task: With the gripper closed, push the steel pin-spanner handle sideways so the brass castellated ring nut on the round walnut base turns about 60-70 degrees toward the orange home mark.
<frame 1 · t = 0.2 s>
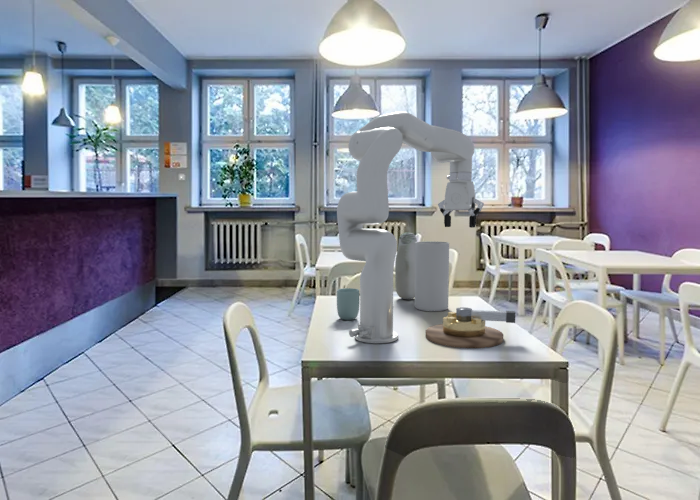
hand: (459, 227, 166), 31 cm above the table, tool pointing down, fingers open, 9 cm apart
ring nut: (478, 320, 136), point 5 cm above the table, hinge at 0.0°
cup: (348, 319, 161), on the table
glass bottle: (407, 299, 197), on the table
spanner base: (463, 337, 137), on the table
cylinder vase: (431, 309, 178), on the table
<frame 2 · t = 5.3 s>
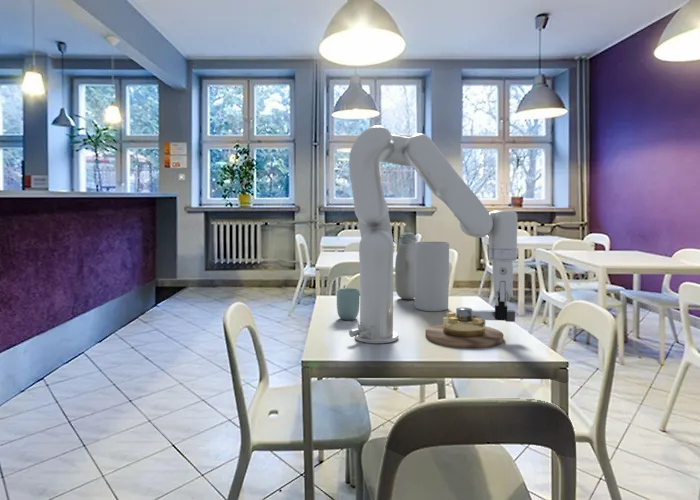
hand: (500, 319, 133), 6 cm above the table, tool pointing down, fingers closed
ring nut: (478, 320, 136), point 5 cm above the table, hinge at 6.1°, touching gripper
everything else where it was.
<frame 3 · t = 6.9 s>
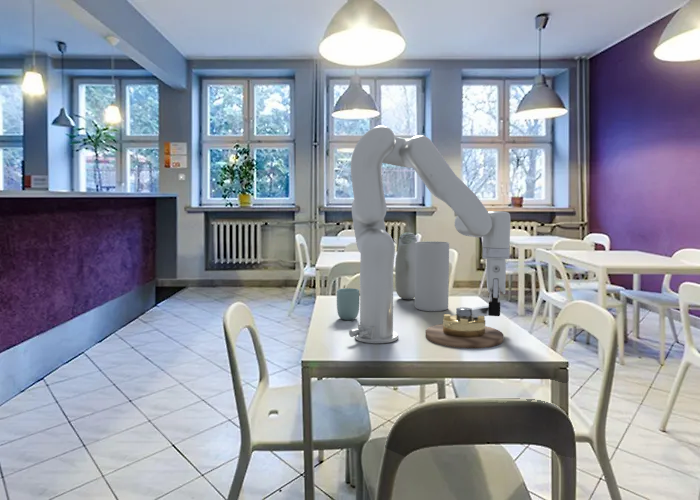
hand: (494, 315, 139), 6 cm above the table, tool pointing down, fingers closed
ring nut: (473, 318, 139), point 5 cm above the table, hinge at 45.5°, touching gripper
everything else where it was.
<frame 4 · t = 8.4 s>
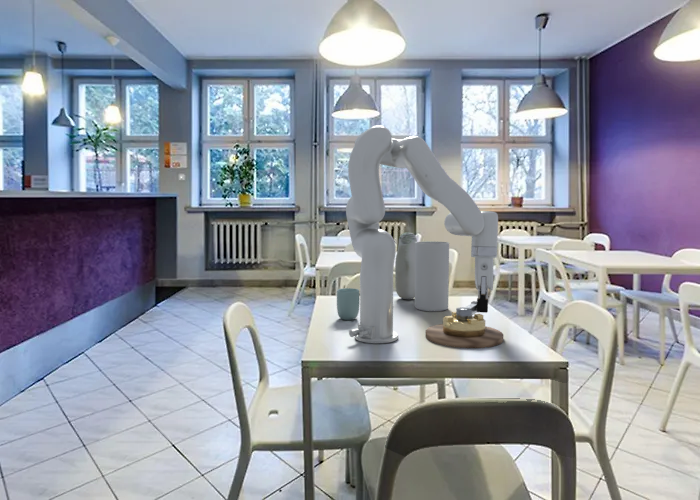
hand: (482, 311, 144), 6 cm above the table, tool pointing down, fingers closed
ring nut: (467, 317, 140), point 5 cm above the table, hinge at 73.8°, touching gripper
everything else where it was.
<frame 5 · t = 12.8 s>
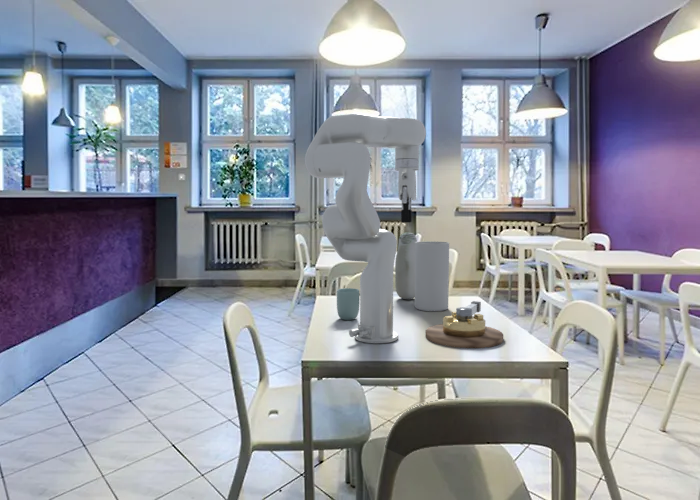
hand: (406, 222, 154), 33 cm above the table, tool pointing down, fingers closed
ring nut: (467, 317, 140), point 5 cm above the table, hinge at 73.9°
everything else where it was.
at the end: ring nut at +74° (first picture: +0°); cylinder vase moved 0.2 cm from its start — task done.
